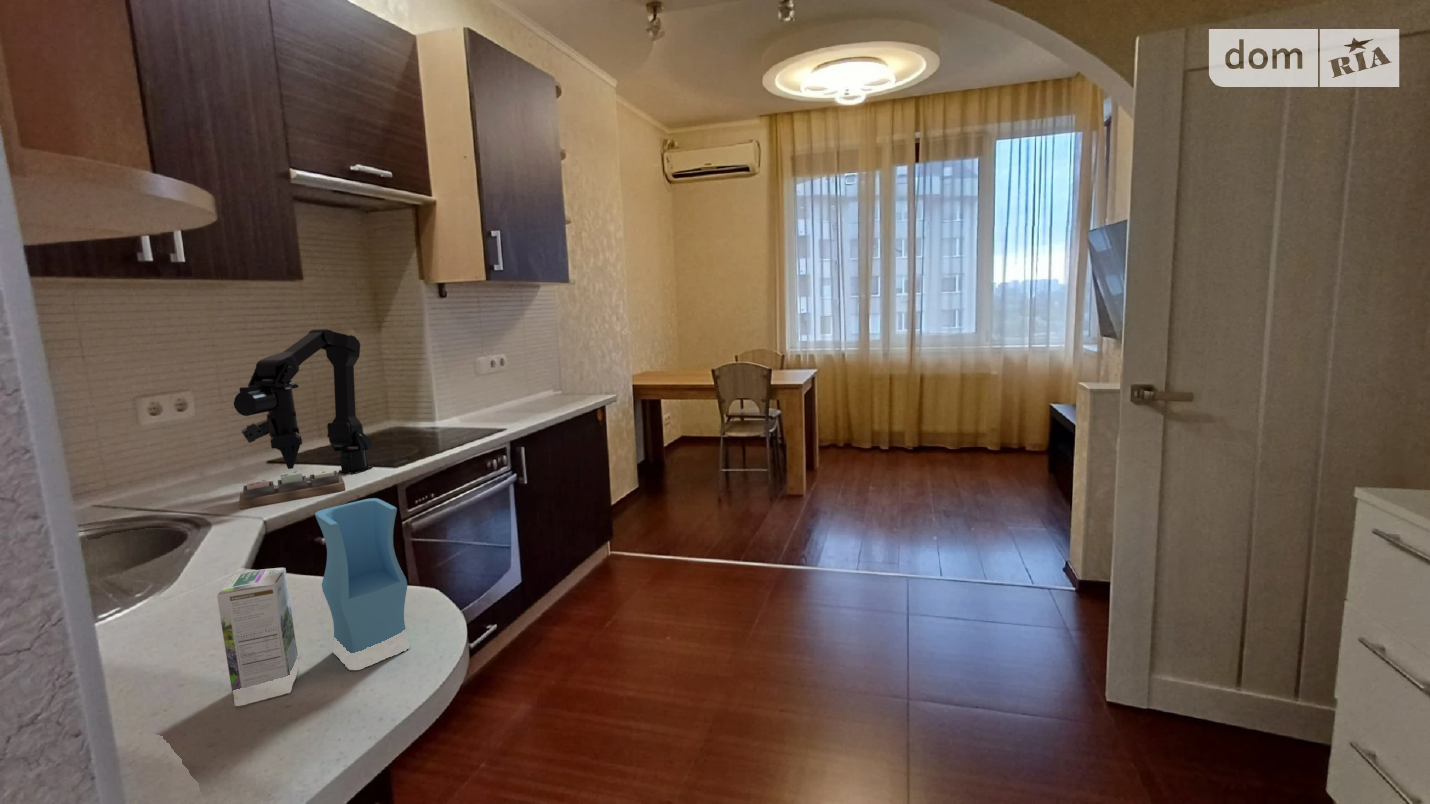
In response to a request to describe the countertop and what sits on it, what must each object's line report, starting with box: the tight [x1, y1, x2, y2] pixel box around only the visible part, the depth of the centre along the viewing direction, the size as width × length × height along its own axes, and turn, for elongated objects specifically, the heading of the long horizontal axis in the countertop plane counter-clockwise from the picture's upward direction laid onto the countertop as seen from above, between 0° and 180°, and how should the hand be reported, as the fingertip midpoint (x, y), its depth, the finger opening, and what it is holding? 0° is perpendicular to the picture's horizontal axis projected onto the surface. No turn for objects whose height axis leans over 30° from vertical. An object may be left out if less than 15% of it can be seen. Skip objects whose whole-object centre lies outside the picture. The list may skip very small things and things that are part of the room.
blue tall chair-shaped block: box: [314, 497, 408, 653], centre depth 82 cm, size 8×8×20 cm
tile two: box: [279, 470, 303, 484], centre depth 157 cm, size 4×4×2 cm
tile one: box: [313, 468, 335, 479], centre depth 161 cm, size 4×4×2 cm
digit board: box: [238, 470, 346, 510], centre depth 158 cm, size 22×9×4 cm, turn 126°
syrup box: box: [216, 567, 299, 692], centre depth 75 cm, size 6×6×14 cm
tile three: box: [246, 478, 270, 490], centre depth 153 cm, size 4×4×2 cm
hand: (290, 468), depth 157 cm, fingers closed
